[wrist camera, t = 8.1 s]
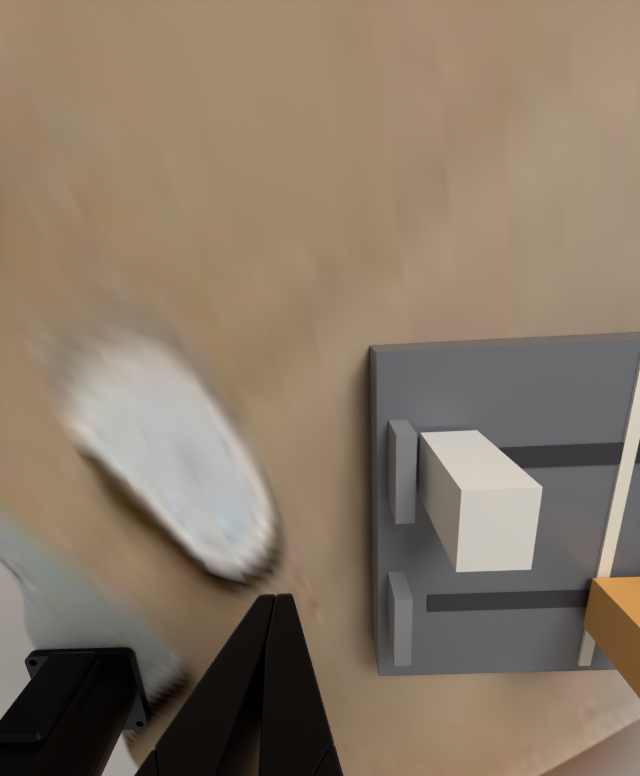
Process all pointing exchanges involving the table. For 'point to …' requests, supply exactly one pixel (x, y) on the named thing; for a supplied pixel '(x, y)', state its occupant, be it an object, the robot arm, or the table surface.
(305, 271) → the table surface
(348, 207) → the table surface
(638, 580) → the fader orange
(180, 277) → the table surface
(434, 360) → the panel
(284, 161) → the table surface
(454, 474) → the block
